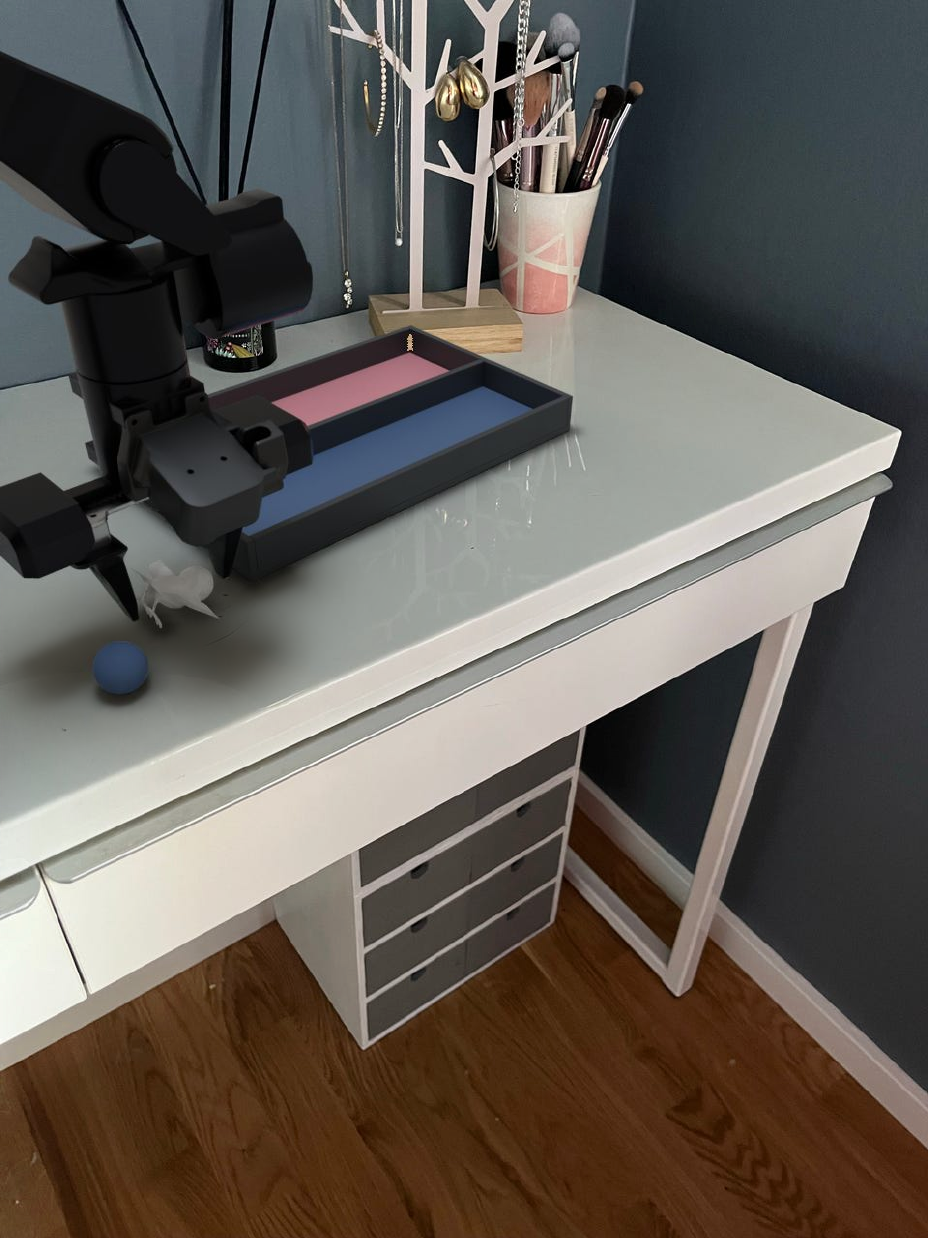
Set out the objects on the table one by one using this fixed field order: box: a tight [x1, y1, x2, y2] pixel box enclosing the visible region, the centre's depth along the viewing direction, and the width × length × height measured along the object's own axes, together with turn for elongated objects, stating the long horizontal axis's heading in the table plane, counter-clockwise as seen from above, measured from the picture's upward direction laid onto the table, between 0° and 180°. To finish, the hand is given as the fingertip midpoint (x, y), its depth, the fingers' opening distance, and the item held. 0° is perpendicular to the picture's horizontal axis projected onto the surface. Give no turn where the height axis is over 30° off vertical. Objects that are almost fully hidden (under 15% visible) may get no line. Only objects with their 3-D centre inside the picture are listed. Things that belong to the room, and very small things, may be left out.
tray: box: [144, 324, 574, 583], centre depth 79 cm, size 32×20×3 cm, turn 134°
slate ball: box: [92, 640, 149, 695], centre depth 56 cm, size 3×3×3 cm
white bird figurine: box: [132, 559, 220, 629], centre depth 61 cm, size 8×5×5 cm, turn 40°
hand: (178, 596), depth 62 cm, fingers open, 6 cm apart
